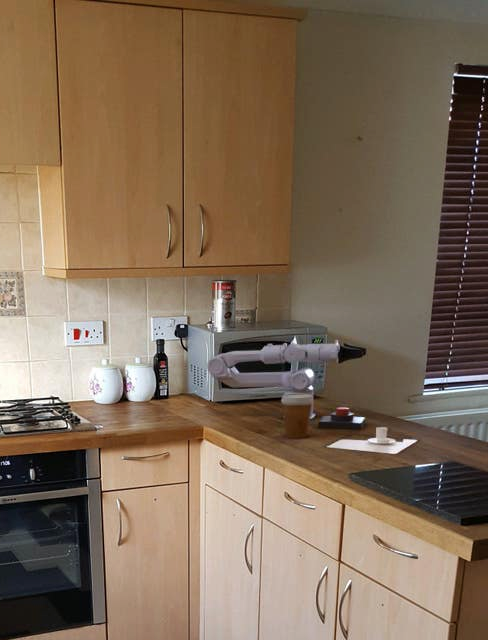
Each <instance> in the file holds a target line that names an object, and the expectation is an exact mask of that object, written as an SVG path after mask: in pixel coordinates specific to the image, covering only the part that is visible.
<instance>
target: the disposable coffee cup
mask: <svg viewBox="0 0 488 640" xmlns="http://www.w3.org/2000/svg"><path fill="white" fill-rule="evenodd" d="M284 394H285V393H284ZM284 394H282V397H281V399H280V401H281V404H282V411H283V414H284V418H283V421H284V422H283V425H284V433H285V437H286V438H290V439H303V438H307V437H308V431H309V424H310V420H311V419H310V413H311V406H312V403H313V404H314V397H313V398H312V395H310V394H301V393H294V394H285V395H284Z"/></svg>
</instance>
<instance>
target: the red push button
mask: <svg viewBox="0 0 488 640" xmlns="http://www.w3.org/2000/svg"><path fill="white" fill-rule="evenodd" d="M335 412H336V414H337V415H348V414H349V412H350V408H349V407H345V406H339V407H336V408H335Z"/></svg>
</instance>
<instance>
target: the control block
mask: <svg viewBox="0 0 488 640" xmlns="http://www.w3.org/2000/svg"><path fill="white" fill-rule="evenodd" d="M365 423H366V417H362V416H355V413H354V412H350V411H349V414H348V415H337V414H336V411H333V412H331V413H330V415H323V416H322V417H321V418H320V419H319V421H318V429H325V430H346V431H347V430H348V431H349V430H351V431H361V430H362V429H363V428H364V426H365Z"/></svg>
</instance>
